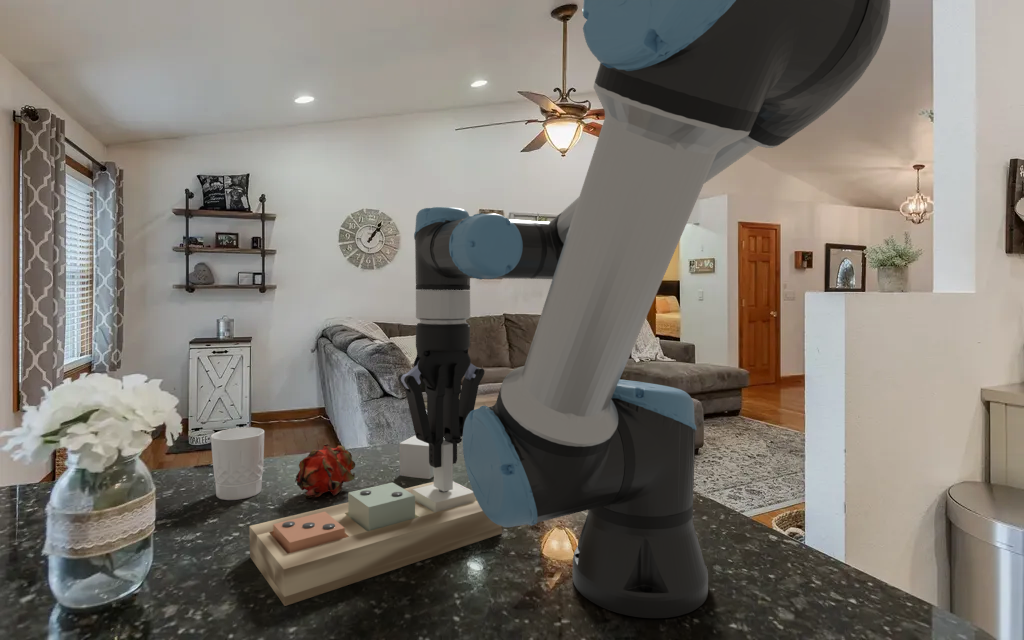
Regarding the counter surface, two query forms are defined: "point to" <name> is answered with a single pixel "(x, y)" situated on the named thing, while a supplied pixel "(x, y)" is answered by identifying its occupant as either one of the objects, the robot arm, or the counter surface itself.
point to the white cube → (415, 459)
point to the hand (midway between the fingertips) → (443, 487)
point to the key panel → (363, 548)
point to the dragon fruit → (325, 471)
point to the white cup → (238, 462)
